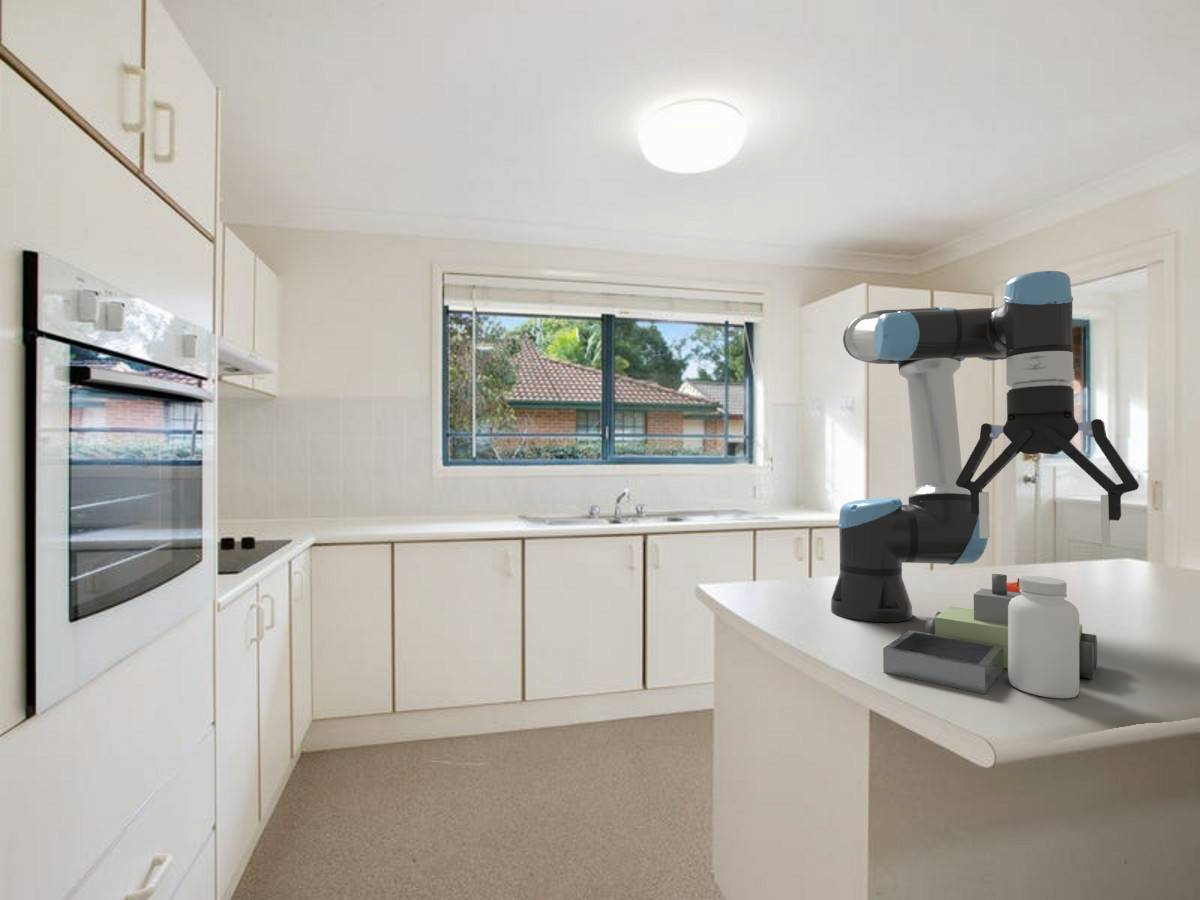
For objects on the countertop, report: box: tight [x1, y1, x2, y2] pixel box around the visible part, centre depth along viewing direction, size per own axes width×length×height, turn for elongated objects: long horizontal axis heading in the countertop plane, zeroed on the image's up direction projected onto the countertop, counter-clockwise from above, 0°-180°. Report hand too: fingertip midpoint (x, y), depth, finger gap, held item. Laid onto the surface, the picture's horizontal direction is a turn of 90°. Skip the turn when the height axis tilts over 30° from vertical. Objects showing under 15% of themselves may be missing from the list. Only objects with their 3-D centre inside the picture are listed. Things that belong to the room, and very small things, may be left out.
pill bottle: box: [1007, 575, 1080, 699], centre depth 85 cm, size 8×8×15 cm
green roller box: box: [924, 573, 1098, 680], centre depth 98 cm, size 21×11×13 cm, turn 48°
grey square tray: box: [882, 629, 1005, 695], centre depth 92 cm, size 13×13×4 cm
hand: (1042, 541), depth 85 cm, fingers open, 13 cm apart
